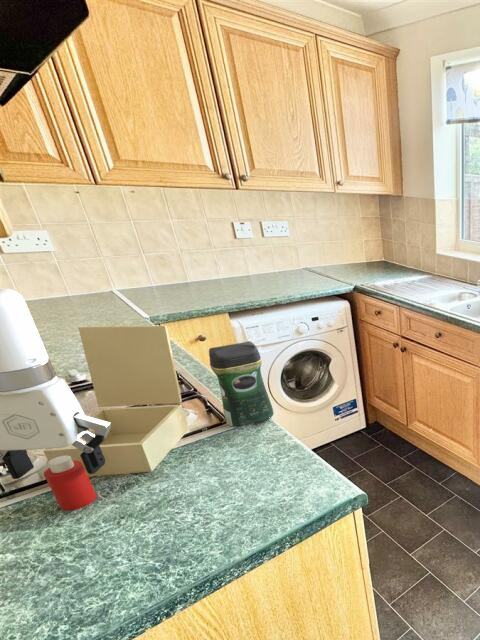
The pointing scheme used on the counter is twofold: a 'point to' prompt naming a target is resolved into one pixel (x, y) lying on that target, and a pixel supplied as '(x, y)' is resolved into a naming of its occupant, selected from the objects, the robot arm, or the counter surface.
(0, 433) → the robot arm
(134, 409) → the bin
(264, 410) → the coffee jar
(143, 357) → the bin lid
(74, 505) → the ketchup bottle
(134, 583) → the counter surface
